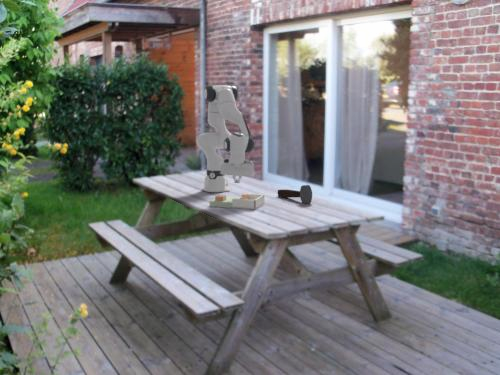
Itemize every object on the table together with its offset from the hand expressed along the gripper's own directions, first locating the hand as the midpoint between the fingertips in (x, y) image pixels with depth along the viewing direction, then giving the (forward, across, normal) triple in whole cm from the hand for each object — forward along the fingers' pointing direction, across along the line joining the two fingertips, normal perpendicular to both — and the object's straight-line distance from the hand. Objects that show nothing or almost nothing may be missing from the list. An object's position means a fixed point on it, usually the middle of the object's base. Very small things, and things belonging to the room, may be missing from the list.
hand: (237, 183), depth 349 cm
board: (+12, +5, +5) cm, 14 cm away
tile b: (+9, +7, +9) cm, 15 cm away
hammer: (+13, -30, -22) cm, 39 cm away
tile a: (+9, -4, +1) cm, 10 cm away
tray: (+12, -9, +5) cm, 16 cm away
